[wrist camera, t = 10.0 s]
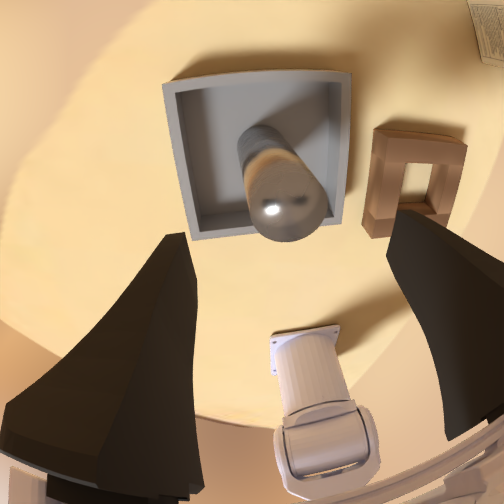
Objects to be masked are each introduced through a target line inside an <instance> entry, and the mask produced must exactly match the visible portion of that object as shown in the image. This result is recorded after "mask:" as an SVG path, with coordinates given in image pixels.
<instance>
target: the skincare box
mask: <svg viewBox="0 0 504 504" xmlns="http://www.w3.org/2000/svg"><path fill="white" fill-rule="evenodd" d="M467 2H468V6H469V9H470V13H471V16H472V20H473V24H474V27H475V32H476V36H477V40H478V45H479V50H480V54H481V59H482V62H483V63H485V64H489V65H493V66H497V67H501V68H504V0H467Z"/></svg>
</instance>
